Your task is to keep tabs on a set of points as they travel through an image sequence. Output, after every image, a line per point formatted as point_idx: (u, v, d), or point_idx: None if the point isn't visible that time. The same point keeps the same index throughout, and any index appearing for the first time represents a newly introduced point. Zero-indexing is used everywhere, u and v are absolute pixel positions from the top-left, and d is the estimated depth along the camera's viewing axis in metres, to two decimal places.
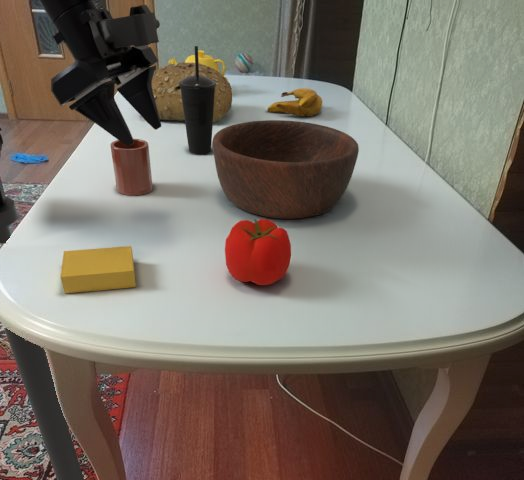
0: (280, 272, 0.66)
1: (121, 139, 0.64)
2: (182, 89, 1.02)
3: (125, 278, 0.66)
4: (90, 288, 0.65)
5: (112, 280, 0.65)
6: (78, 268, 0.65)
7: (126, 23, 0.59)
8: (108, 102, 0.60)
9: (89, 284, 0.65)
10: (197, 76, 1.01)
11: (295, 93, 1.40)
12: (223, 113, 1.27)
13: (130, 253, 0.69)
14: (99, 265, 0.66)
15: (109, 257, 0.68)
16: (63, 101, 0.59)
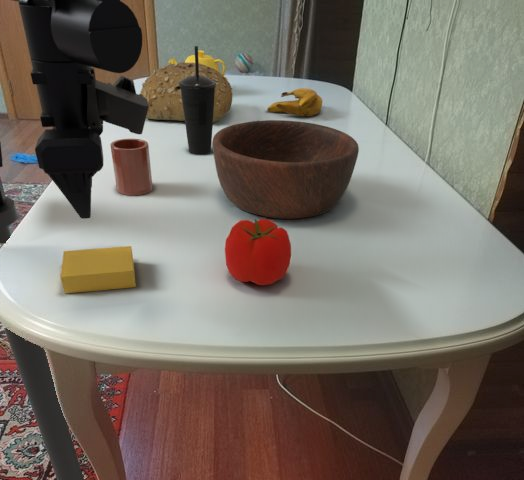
0: (280, 272, 0.66)
1: (79, 211, 0.57)
2: (182, 89, 1.02)
3: (125, 278, 0.66)
4: (90, 288, 0.65)
5: (112, 280, 0.65)
6: (78, 268, 0.65)
7: (131, 108, 0.55)
8: (90, 179, 0.54)
9: (89, 284, 0.65)
10: (197, 76, 1.01)
11: (295, 93, 1.40)
12: (223, 113, 1.27)
13: (130, 253, 0.69)
14: (99, 265, 0.66)
15: (109, 257, 0.68)
16: (49, 168, 0.50)
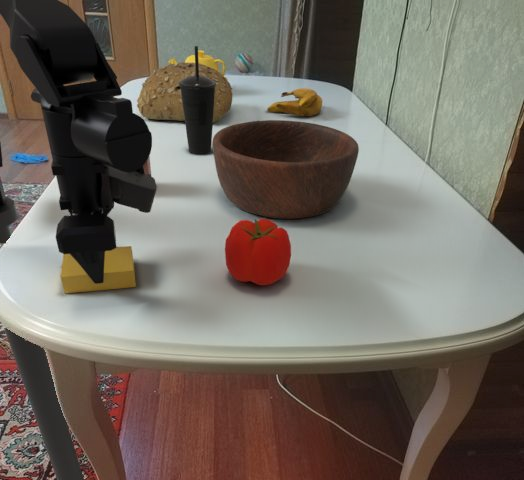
0: (280, 272, 0.66)
1: (93, 278, 0.64)
2: (182, 89, 1.02)
3: (125, 278, 0.66)
4: (90, 288, 0.65)
5: (112, 280, 0.65)
6: (78, 268, 0.65)
7: (141, 191, 0.60)
8: (104, 252, 0.61)
9: (89, 284, 0.65)
10: (197, 76, 1.01)
11: (295, 93, 1.40)
12: (223, 113, 1.27)
13: (130, 253, 0.69)
14: None
15: (109, 257, 0.68)
16: (68, 252, 0.56)
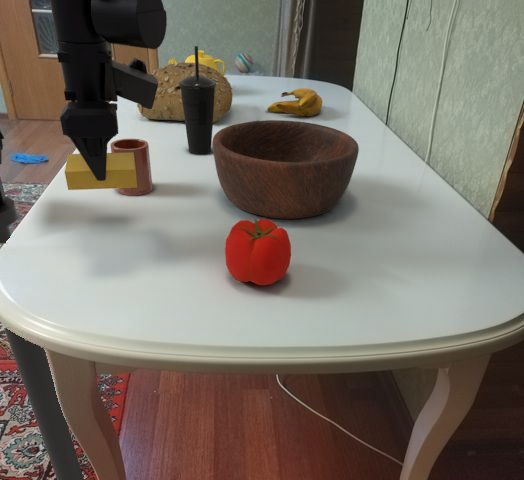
0: (280, 272, 0.66)
1: (96, 173, 0.66)
2: (182, 89, 1.02)
3: (127, 177, 0.68)
4: (93, 186, 0.68)
5: (114, 178, 0.68)
6: (82, 166, 0.67)
7: (143, 85, 0.62)
8: (106, 144, 0.63)
9: (92, 181, 0.67)
10: (197, 76, 1.01)
11: (295, 93, 1.40)
12: (223, 113, 1.27)
13: (132, 157, 0.71)
14: None
15: (112, 159, 0.70)
16: (71, 134, 0.58)
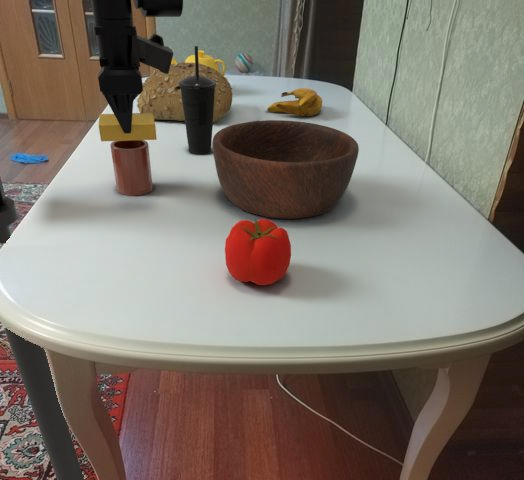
0: (280, 272, 0.66)
1: (123, 127, 0.82)
2: (182, 89, 1.02)
3: (148, 130, 0.83)
4: (121, 138, 0.83)
5: (138, 131, 0.83)
6: (112, 122, 0.83)
7: (161, 54, 0.78)
8: (132, 101, 0.79)
9: (120, 134, 0.83)
10: (197, 76, 1.01)
11: (295, 93, 1.40)
12: (223, 113, 1.27)
13: (152, 116, 0.87)
14: None
15: (135, 117, 0.86)
16: (107, 91, 0.73)
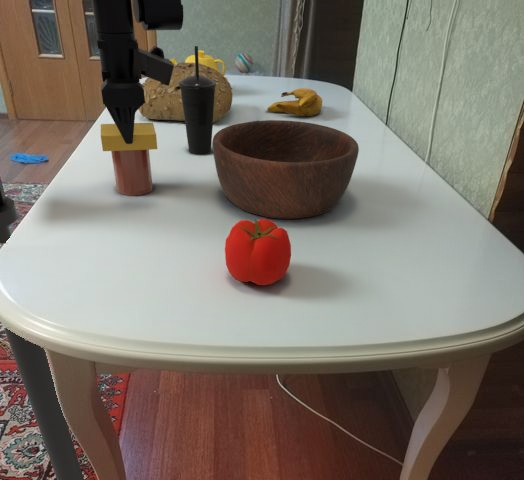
0: (280, 272, 0.66)
1: (125, 138, 0.83)
2: (182, 89, 1.02)
3: (149, 140, 0.85)
4: (123, 148, 0.85)
5: (139, 141, 0.85)
6: (113, 132, 0.85)
7: (162, 66, 0.80)
8: (134, 113, 0.80)
9: (122, 144, 0.85)
10: (197, 76, 1.01)
11: (295, 93, 1.40)
12: (223, 113, 1.27)
13: (152, 126, 0.88)
14: None
15: (136, 127, 0.87)
16: (110, 103, 0.75)
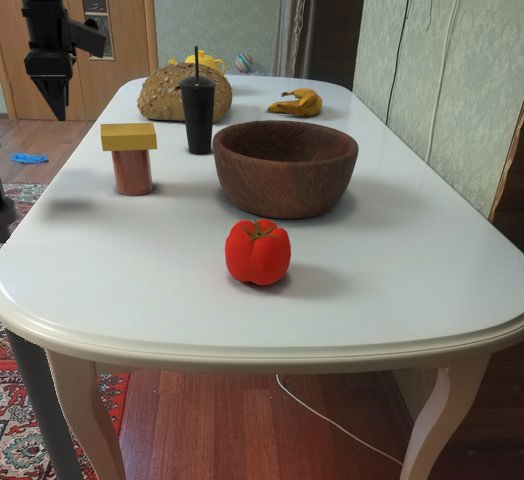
0: (280, 272, 0.66)
1: (57, 114, 0.79)
2: (182, 89, 1.02)
3: (149, 140, 0.85)
4: (123, 148, 0.85)
5: (139, 141, 0.85)
6: (113, 132, 0.85)
7: (93, 37, 0.76)
8: (64, 87, 0.76)
9: (122, 144, 0.85)
10: (197, 76, 1.01)
11: (295, 93, 1.40)
12: (223, 113, 1.27)
13: (152, 126, 0.88)
14: (129, 131, 0.86)
15: (136, 127, 0.87)
16: (33, 74, 0.71)
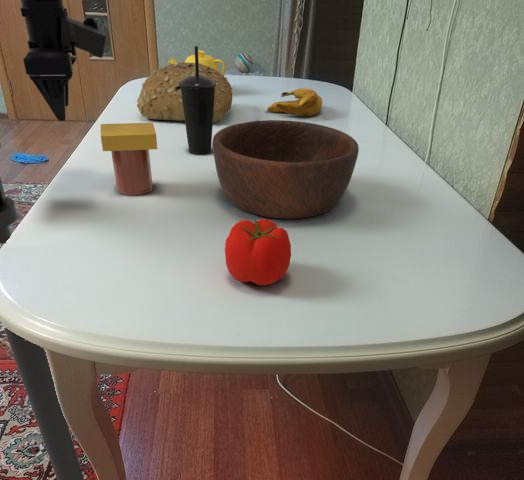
0: (280, 272, 0.66)
1: (56, 114, 0.79)
2: (182, 89, 1.02)
3: (149, 140, 0.85)
4: (123, 148, 0.85)
5: (139, 141, 0.85)
6: (113, 132, 0.85)
7: (93, 36, 0.76)
8: (63, 87, 0.76)
9: (122, 144, 0.85)
10: (197, 76, 1.01)
11: (295, 93, 1.40)
12: (223, 113, 1.27)
13: (152, 126, 0.88)
14: (129, 131, 0.86)
15: (136, 127, 0.87)
16: (33, 73, 0.71)
